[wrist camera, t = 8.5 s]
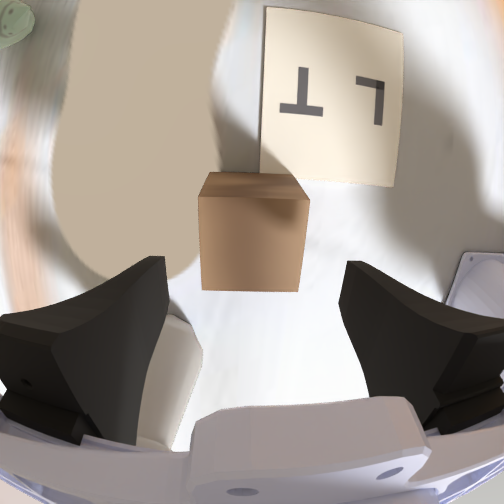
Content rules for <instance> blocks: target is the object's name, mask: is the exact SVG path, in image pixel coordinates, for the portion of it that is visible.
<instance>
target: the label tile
mask: <svg viewBox="0 0 504 504" xmlns="http://www.w3.org/2000/svg"><path fill="white" fill-rule="evenodd" d="M403 68H404V49H403V34H402V33H399V32H396V31H393V30H390V29H386V28H383V27H380V26H376V25H372V24H369V23H365V22H361V21H357V20H352V19H348V18H343V17H338V16H333V15H328V14H322V13H316V12H309V11H302V10H294V9H285V8H274V7H267V9H266V33H265V57H264V80H263V103H262V125H261V147H260V169H259V173H271V174H290V175H293V176H294V177H295V178H296V179H306V180H320V181H333V182H344V183H355V184H365V185H374V186H383V187H391V188H393V186H394V179H395V172H396V164H397V156H398V148H399V138H400V127H401V115H402V99H403Z"/></svg>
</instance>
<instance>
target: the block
mask: <svg viewBox="0 0 504 504" xmlns="http://www.w3.org/2000/svg"><path fill="white" fill-rule="evenodd" d="M309 205H310V199H309V198H308V196H307V195H306V193H305V192H304V190H303V189H302V187H301V186H300V184H299V183H298V181H297V180H296V178H295V177H294V176H293V175H290V174H271V173H243V172H210V173H209V175H208V177H207V179H206V181H205V183H204V185H203V188H202V189H201V192H200V194H199V196H198V212H199V213H198V214H199V239H200V240H199V242H200V263H201V282H202V290H213V291H259V292H298V288H299V282H300V275H301V268H302V261H303V253H304V246H305V238H306V230H307V222H308V214H309Z"/></svg>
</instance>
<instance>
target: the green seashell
mask: <svg viewBox="0 0 504 504" xmlns="http://www.w3.org/2000/svg"><path fill="white" fill-rule="evenodd" d="M30 9H31V6H28V5H26V4H24V3H23V2H21V1H19V0H0V49H2V48H5V47H8V46H11V45H13V44H15V43H17V42H19V41H21V40H22V39H24V38H25V37H26V36H27V35H28V34H29V33H31V32H32V29H33V26H34V23H35V18H34V14H33V12H32V11H31V10H30Z"/></svg>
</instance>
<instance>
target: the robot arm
mask: <svg viewBox="0 0 504 504" xmlns="http://www.w3.org/2000/svg"><path fill="white" fill-rule="evenodd" d="M470 257H471V258H470ZM338 304H339V308H340V312H341V316H342V320H343V323H344V326H345V328H346V330H347V333H348V335H349V338H350V340H351V342H352V345H353V347H354V349H355V352H356V354H357V357H358V359H359V361H360V364H361V367H362V370H363V373H364V376H365V380H366V384H367V388H368V392H369V397H370V398H363V399H355V400H347V401H338V402H327V403H315V404H300V405H276V406H244V407H236V408H228V409H220V410H218V411H216V412H214V413H212V414H210V415H208V416H206V417H204V418H202V419H200V420H198V421H196V423H195V426H194V429H193V432H192V434H191V443H190V451H188V452H171V451H164V450H157V449H150V448H144V447H138V446H136V440H137V429H138V421H139V413H140V407H141V400H142V395H143V389H144V384H145V379H146V375H147V370H148V367H149V364H150V361H151V358H152V355H153V352H154V350H155V347H156V344H157V341H158V339H159V336H160V333H161V330H162V328H163V325H164V322H165V319H166V314H167V310H168V305H169V292H168V284H167V276H166V266H165V257H164V256H149V257H147V258H144V259H143V260H141V261H139V262H138V263H136V264H135V265H133V266H131V267H130V268H128V269H126V270H125V271H123V272H122V273H120V274H119V275H117V276H115V277H113V278H111V279H110V280H108V281H106V282H105V283H103V284H101V285H99V286H97V287H95V288H93V289H91V290H89V291H87V292H85V293H83V294H80V295H78V296H76V297H73V298H70V299H67V300H65V301H62V302H59V303H56V304H53V305H49V306H46V307H42V308H38V309H34V310H29V311H23V312H17V313H10V314H3V315H2V316H1V317H0V379H1V381H2V382H3V384H4V386H5V387H6V389H7V390H6V392H5V394H4V396H2V395H1V394H0V479H1V480H3V481H4V482H6V483H7V484H9V485H11V486H13V487H14V488H16V489H18V490H19V491H21V492H23V493H25V494H27V495H29V496H30V497H32V498H34V499H36V500H38V501H40V502H42V503H44V504H448V503H449V502H452V501H454V500H455V499H457V498H459V497H461V496H463V495H465V494H466V493H468V492H470V491H472V490H474V489H475V488H477V487H479V486H480V485H482V484H484V483H485V482H487V481H488V480H490V479H492V478H493V477H495V476H496V475H498V474H499V473H501V472H502V471H504V253H481V252H466V253H464V254H463V256H462V258H461V262H460V265H459V268H458V271H457V274H456V277H455V280H454V282H453V285H452V288H451V291H450V293H449V296H448V299H447V301H446V304H443V303H440V302H438V301H436V300H433V299H431V298H429V297H427V296H424V295H422V294H420V293H418V292H416V291H414V290H413V289H411V288H409V287H407V286H405V285H403V284H402V283H400V282H398V281H397V280H395V279H393V278H392V277H390V276H388V275H386V274H385V273H383V272H381V271H380V270H378V269H376V268H375V267H373V266H371V265H369V264H367V263H365V262H362V261H347V265H346V270H345V275H344V280H343V284H342V289H341V294H340V298H339V303H338Z"/></svg>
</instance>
